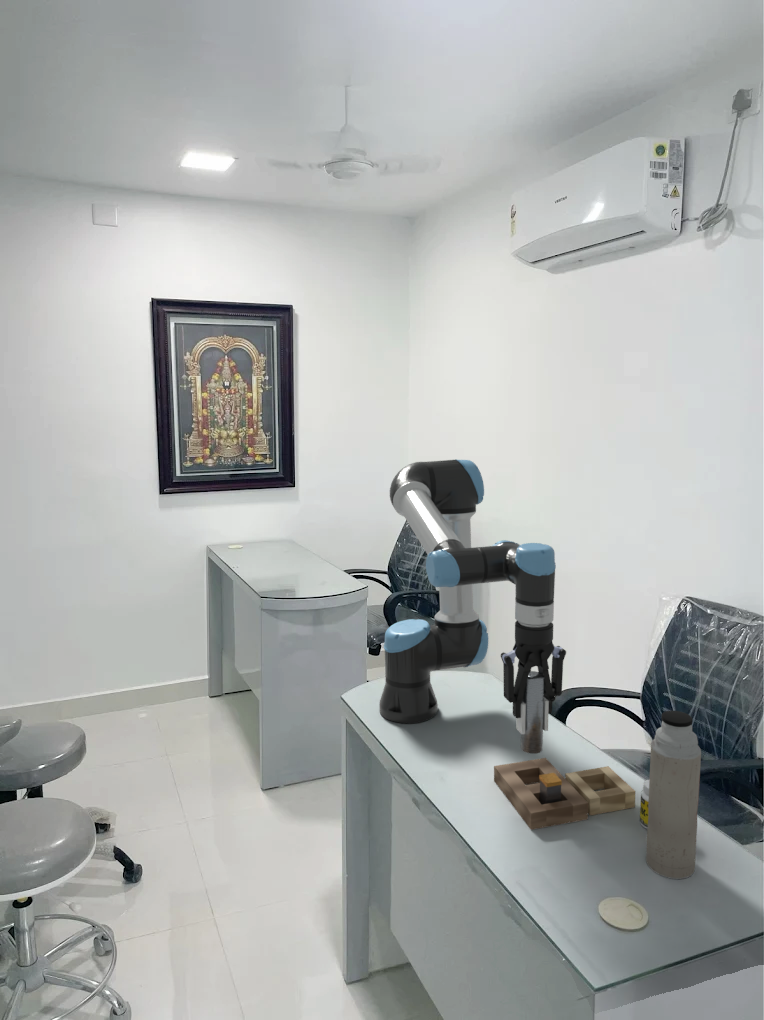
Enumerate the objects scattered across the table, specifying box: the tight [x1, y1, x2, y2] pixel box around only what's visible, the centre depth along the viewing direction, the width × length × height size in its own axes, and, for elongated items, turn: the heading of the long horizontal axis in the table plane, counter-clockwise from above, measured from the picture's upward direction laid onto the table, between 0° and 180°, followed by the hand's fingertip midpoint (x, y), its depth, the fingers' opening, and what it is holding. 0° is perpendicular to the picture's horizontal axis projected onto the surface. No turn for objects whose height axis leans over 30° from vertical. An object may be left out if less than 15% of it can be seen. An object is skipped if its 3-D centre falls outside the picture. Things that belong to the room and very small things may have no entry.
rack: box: [564, 765, 636, 816], centre depth 150 cm, size 10×10×4 cm
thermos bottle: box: [645, 710, 702, 880], centre depth 127 cm, size 8×8×28 cm
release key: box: [539, 773, 562, 805], centre depth 145 cm, size 3×3×7 cm
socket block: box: [493, 757, 589, 831], centre depth 150 cm, size 18×12×4 cm, turn 14°
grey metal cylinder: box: [520, 670, 544, 754], centre depth 150 cm, size 4×4×16 cm
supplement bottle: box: [639, 779, 649, 830], centre depth 140 cm, size 5×5×8 cm
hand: (532, 729), depth 151 cm, fingers closed on grey metal cylinder, 4 cm apart
